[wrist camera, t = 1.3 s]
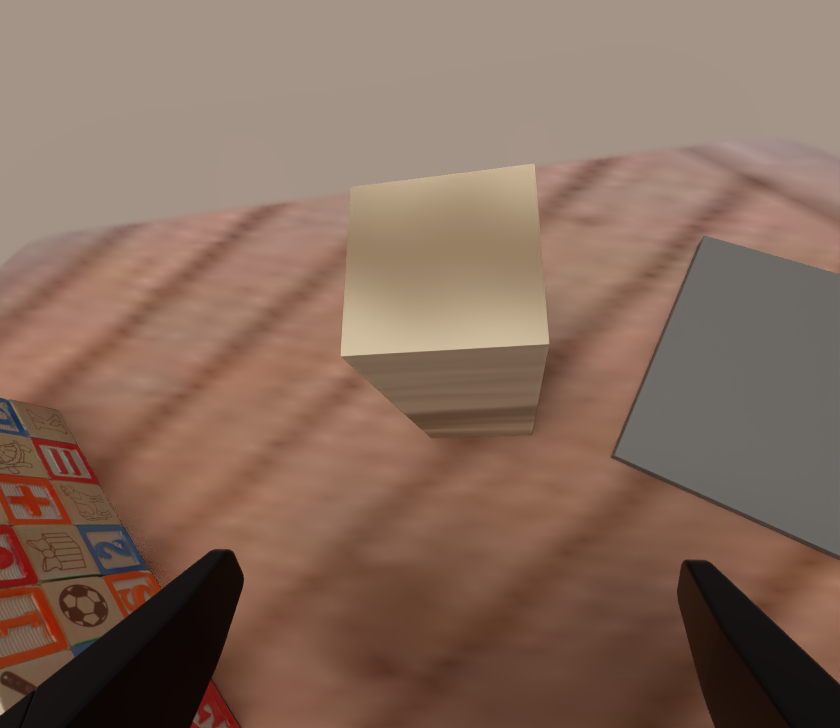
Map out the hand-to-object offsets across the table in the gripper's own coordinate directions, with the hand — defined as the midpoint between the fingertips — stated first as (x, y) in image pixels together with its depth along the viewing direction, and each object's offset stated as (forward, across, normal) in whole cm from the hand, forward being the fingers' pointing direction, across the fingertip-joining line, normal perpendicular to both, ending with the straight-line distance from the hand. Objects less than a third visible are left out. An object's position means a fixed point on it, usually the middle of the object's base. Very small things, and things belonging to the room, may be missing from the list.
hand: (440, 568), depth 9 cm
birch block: (+14, 0, +4) cm, 15 cm away
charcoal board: (+14, -14, +5) cm, 20 cm away
